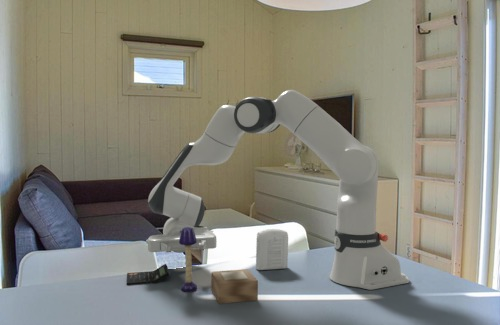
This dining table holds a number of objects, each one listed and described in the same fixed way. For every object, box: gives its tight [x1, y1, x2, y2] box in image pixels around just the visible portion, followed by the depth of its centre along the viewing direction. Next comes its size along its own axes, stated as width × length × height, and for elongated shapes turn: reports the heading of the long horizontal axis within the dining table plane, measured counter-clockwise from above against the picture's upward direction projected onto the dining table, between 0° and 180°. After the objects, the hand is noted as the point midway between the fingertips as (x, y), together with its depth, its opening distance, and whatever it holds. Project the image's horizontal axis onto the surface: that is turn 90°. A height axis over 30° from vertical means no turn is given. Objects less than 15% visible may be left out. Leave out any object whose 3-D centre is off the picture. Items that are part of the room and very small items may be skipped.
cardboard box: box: [210, 268, 259, 305], centre depth 117 cm, size 10×10×5 cm
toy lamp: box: [179, 227, 198, 293], centre depth 120 cm, size 5×5×17 cm
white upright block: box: [255, 228, 289, 271], centre depth 140 cm, size 10×4×12 cm, turn 107°
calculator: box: [126, 263, 170, 286], centre depth 130 cm, size 9×12×3 cm
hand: (185, 248), depth 127 cm, fingers open, 8 cm apart
